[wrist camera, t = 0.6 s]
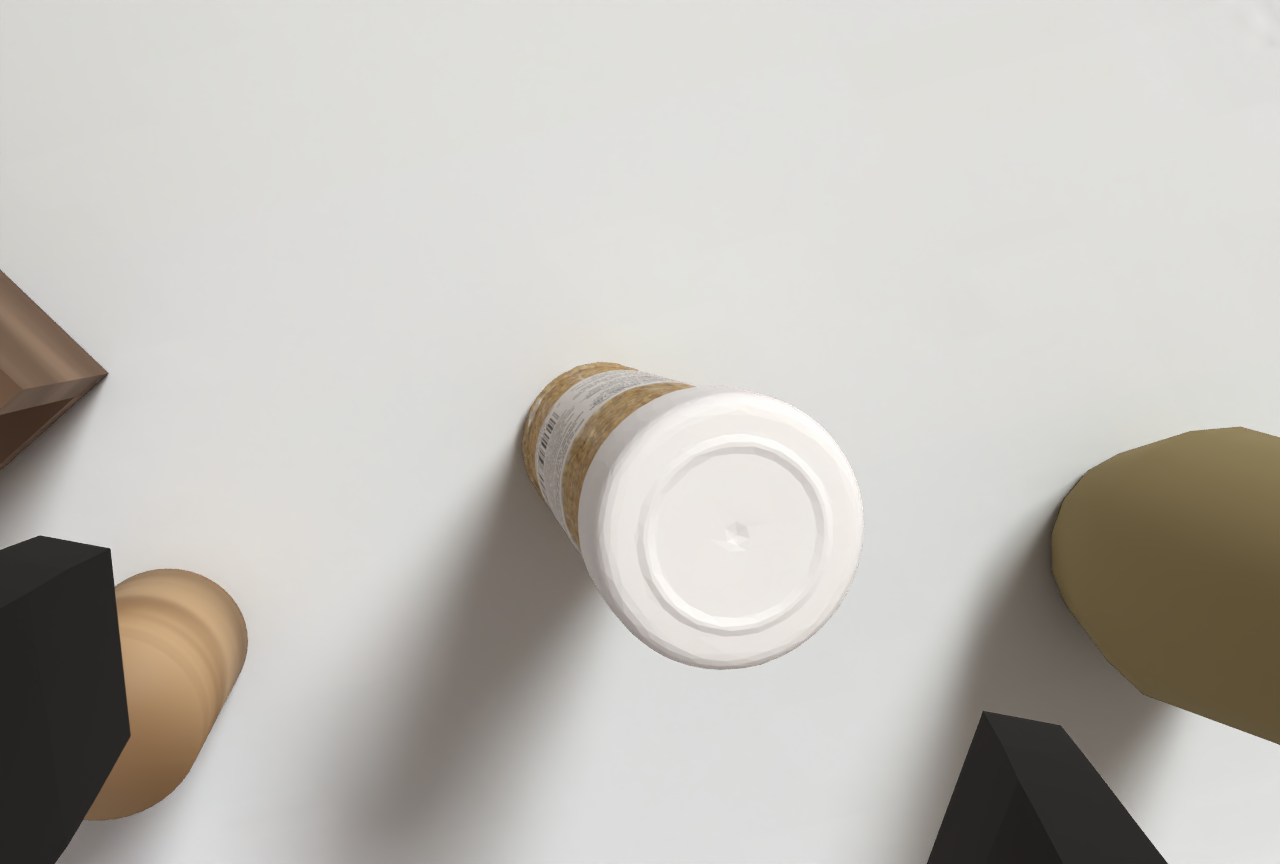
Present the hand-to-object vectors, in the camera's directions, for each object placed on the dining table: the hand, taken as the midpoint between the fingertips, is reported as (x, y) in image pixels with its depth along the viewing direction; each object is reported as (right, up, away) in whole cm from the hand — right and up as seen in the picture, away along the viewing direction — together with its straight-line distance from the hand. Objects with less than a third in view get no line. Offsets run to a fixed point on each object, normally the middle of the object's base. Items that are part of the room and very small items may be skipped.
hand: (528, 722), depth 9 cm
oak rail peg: (-11, -3, +19) cm, 23 cm away
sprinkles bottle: (0, +2, +21) cm, 21 cm away
